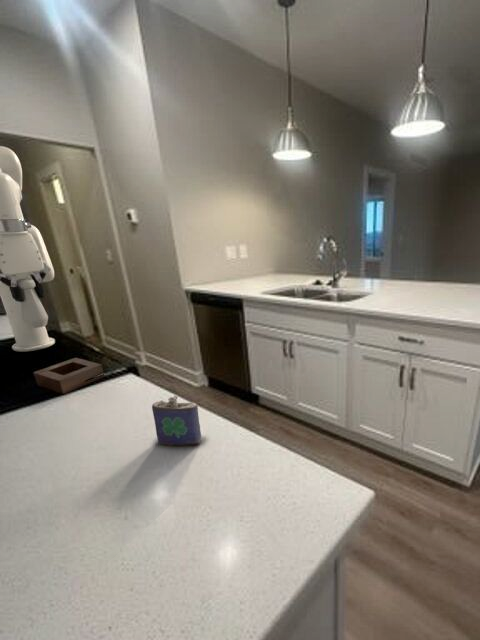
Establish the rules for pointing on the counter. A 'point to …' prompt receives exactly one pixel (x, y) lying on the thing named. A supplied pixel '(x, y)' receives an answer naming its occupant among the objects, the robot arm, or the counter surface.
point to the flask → (177, 423)
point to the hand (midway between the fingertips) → (29, 298)
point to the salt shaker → (31, 305)
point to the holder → (68, 375)
